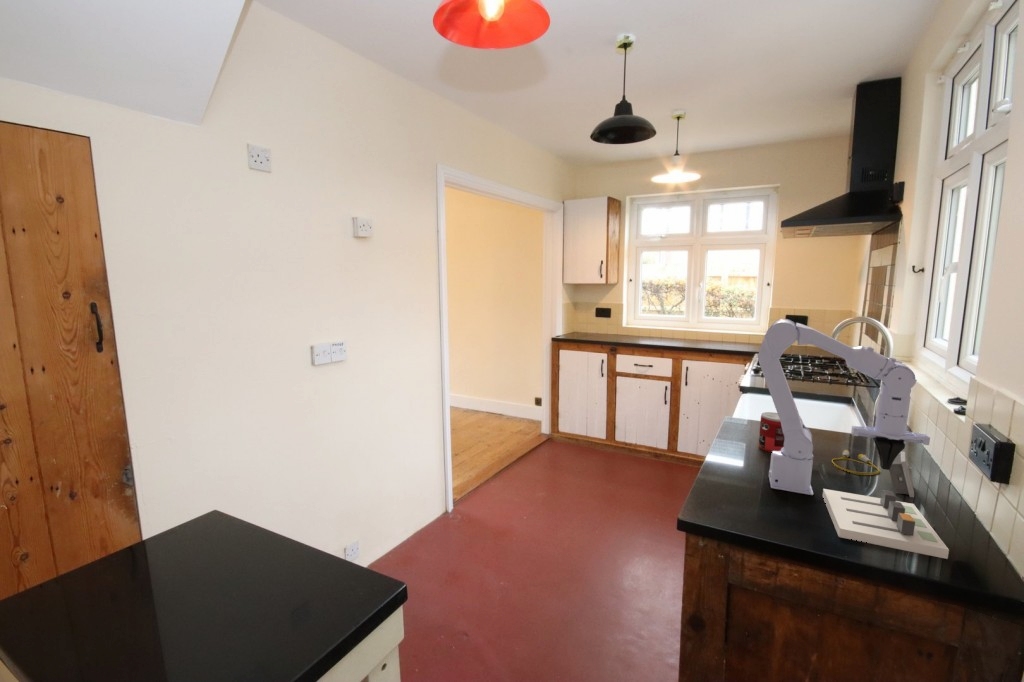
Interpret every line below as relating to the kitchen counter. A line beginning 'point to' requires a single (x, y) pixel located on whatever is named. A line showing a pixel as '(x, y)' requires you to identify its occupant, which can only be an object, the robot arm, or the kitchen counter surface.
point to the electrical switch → (902, 475)
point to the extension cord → (860, 456)
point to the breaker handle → (905, 524)
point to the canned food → (771, 432)
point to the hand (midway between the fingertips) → (884, 468)
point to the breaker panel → (881, 522)
